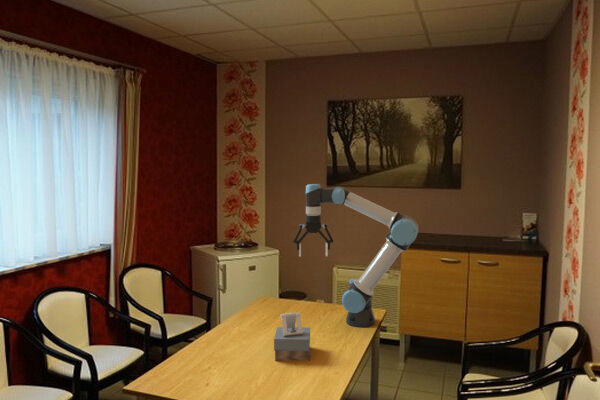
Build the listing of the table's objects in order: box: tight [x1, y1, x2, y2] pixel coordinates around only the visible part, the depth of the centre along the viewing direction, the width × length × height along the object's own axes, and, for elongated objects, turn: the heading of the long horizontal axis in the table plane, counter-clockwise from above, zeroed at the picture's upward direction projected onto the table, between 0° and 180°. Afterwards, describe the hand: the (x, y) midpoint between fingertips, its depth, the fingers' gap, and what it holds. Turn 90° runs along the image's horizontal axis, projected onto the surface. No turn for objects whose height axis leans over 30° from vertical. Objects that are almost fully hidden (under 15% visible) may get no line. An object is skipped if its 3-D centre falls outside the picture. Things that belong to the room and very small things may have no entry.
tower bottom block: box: [274, 346, 311, 362], centre depth 216 cm, size 15×15×5 cm
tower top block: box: [273, 326, 311, 351], centre depth 216 cm, size 15×15×5 cm
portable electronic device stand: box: [279, 312, 303, 336], centre depth 215 cm, size 9×8×8 cm
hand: (313, 256), depth 248 cm, fingers open, 13 cm apart
